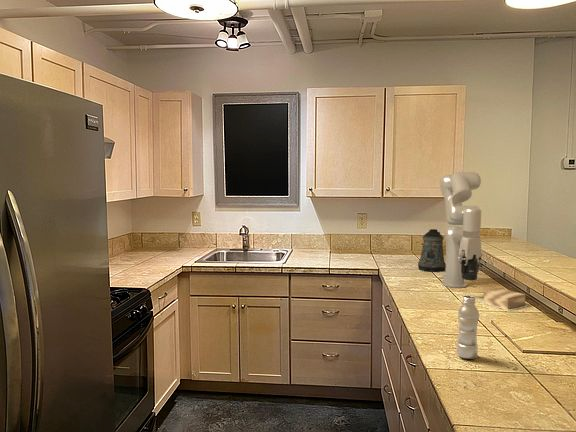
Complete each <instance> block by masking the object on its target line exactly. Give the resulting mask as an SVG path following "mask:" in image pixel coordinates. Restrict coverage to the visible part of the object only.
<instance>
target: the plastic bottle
mask: <svg viewBox="0 0 576 432" xmlns="http://www.w3.org/2000/svg"><path fill="white" fill-rule="evenodd" d="M457 317H458V328H459V329H458V332H459V333H458V338H457V339H458V341H457V344H456V353H457V355H458V356H459V357H460V358H462V359H465V360H474V359H476V358H477V357H478V351H479V348H478V341H477V340H478V338H477V333H478V332H477V331H478V324H479V319H480V312H479V310H478V308H477V306H476V297H475V296H471V295H463V296H462V305H461V306H460V307H459V309H458V311H457Z"/></svg>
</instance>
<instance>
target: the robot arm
mask: <svg viewBox="0 0 576 432" xmlns="http://www.w3.org/2000/svg"><path fill="white" fill-rule="evenodd" d="M481 179H482V178H481V176H480V174H479V173H478V172H475V171H473V172H472V171H471V172H470V171H462V172H461V171H460V172H454V173H453V174H446V175H443V176H442V177H441V178H440V183H439V185H440V192H441V194H442V197H443V199H444V203H445V217H446V223H448V224H449V225H452V226H449V227H447V228H445V231H444V238H445V264H446V267H445V271H444V272H445V273H444V274H442V275H441V276H440V280H441V279H442V280H443V281H442V282H441V285H442V286H444V287H448V288H455V289H457V288H458V289H461V288H467V287H468V283H467V282H465V279H463V278H462V273H464V274H468V266H467V264H468V261H469V260H471V259H472V258H473V255H476V260H477V261H478V272H479V270H480V269H479V267H480V263H481V260H482V258H483V256H484V254H483V252H482V239H481V226H482V210H481V209H480V207H479V206H477V205H463V203H464V202H468V200H470V199H471V198H472V196H473V193H472V191H474V190H477V189H479V188H480V186H481V183H482V180H481ZM465 257H466V258H465ZM464 260H466V261H464Z"/></svg>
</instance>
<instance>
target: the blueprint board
mask: <svg viewBox="0 0 576 432" xmlns="http://www.w3.org/2000/svg"><path fill="white" fill-rule="evenodd" d="M479 303H481V304H484V305H488V306H491V307H495V308H498V309H502V310H504V311H509V312H513V311H517V310H521V309H526V308H529V307H531V305H528V304H525V306H521V307H516V308H512V309H505V308H501V307H498V306H494V305H491V304H487V303H484V300H482V301H479Z"/></svg>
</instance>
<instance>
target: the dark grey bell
mask: <svg viewBox="0 0 576 432" xmlns="http://www.w3.org/2000/svg"><path fill="white" fill-rule="evenodd" d="M444 238H445V237H443V235H442V234H441V232H440V231H438V229H437V228H436V229H434V228H431V229H429V231H428V232H426V233H425V234H423V236H422V240H423V241H422V242H423V244H422V248H421V253H420V257H419V261H418V262H417V267H418V270H420V271H422V272H427V273H443V272H446V260H445V256H444V247H443V244H444V242H443V241H444Z"/></svg>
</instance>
